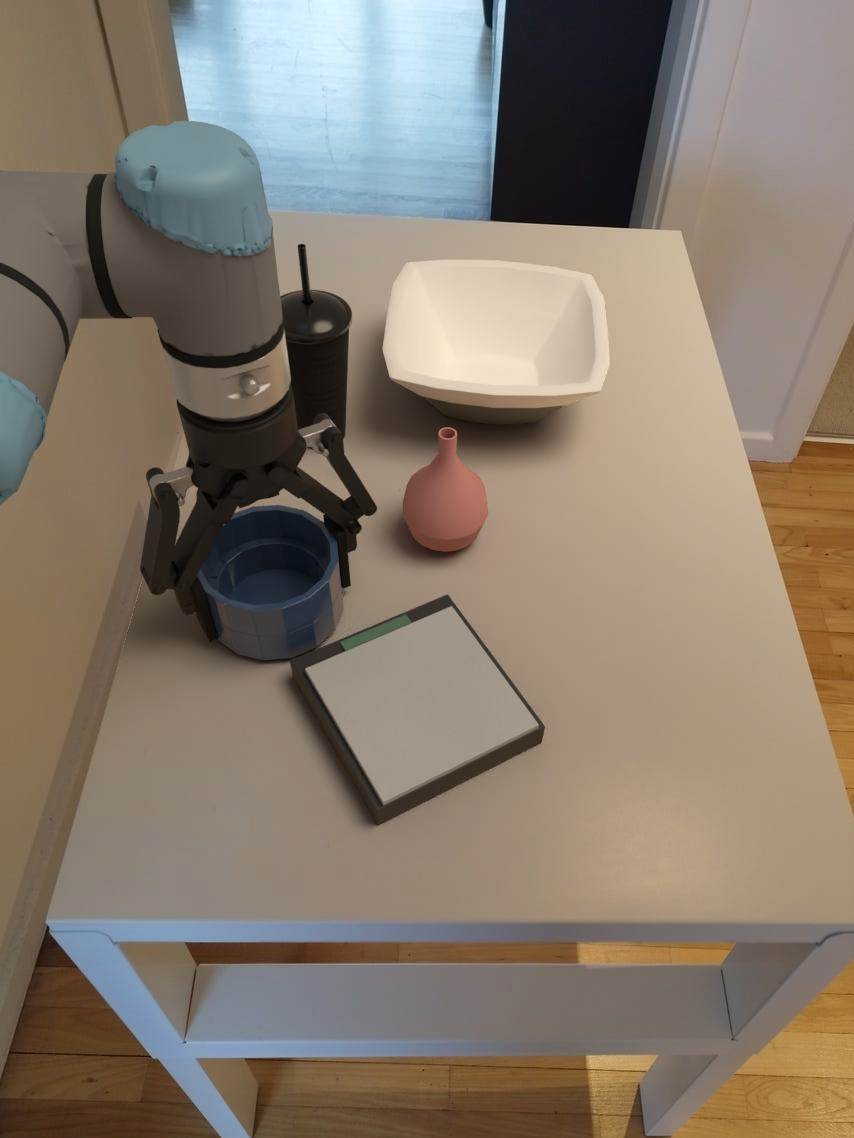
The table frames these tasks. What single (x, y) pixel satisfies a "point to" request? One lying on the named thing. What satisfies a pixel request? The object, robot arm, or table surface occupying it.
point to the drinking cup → (317, 350)
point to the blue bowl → (273, 582)
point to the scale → (415, 706)
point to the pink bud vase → (445, 500)
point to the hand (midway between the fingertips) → (275, 602)
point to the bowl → (496, 338)
